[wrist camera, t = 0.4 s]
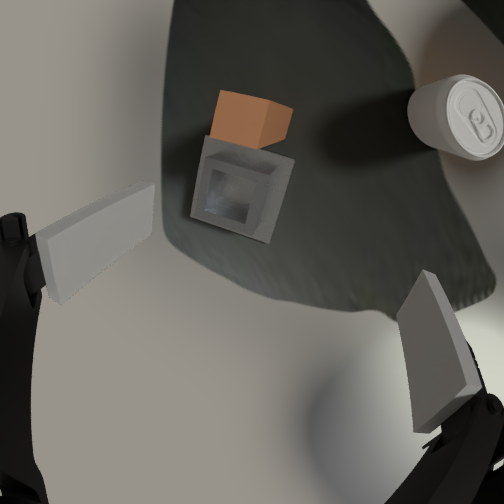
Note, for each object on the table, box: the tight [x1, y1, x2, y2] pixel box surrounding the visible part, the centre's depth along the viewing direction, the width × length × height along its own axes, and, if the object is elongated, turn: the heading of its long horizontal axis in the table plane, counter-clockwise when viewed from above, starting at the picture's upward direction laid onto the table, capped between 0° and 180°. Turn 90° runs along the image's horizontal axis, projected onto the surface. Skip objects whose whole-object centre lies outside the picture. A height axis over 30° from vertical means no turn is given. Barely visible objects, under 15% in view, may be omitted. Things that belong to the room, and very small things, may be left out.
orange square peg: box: [210, 90, 293, 150], centre depth 26 cm, size 4×4×14 cm
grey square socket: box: [190, 135, 296, 244], centre depth 35 cm, size 12×12×4 cm
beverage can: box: [407, 75, 504, 160], centre depth 21 cm, size 8×8×12 cm
